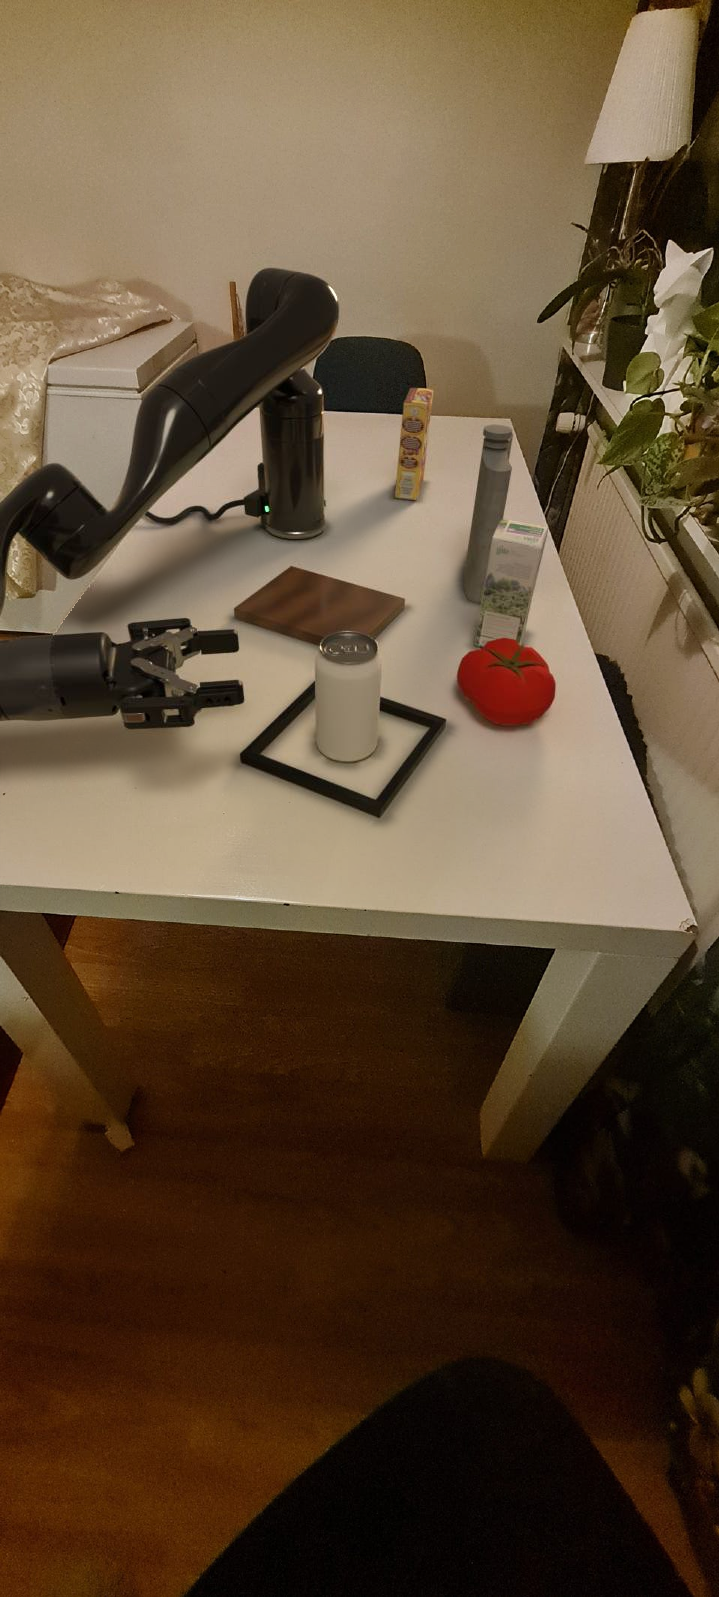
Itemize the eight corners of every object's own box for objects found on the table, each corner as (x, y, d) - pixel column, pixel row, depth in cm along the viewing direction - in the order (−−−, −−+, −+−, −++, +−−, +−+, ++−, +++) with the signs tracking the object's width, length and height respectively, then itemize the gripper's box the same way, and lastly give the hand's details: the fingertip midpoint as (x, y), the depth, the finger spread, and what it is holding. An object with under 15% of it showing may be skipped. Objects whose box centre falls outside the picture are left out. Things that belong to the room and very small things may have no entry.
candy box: (418, 501, 122) (427, 403, 111) (394, 498, 123) (400, 401, 112) (425, 482, 128) (434, 388, 118) (401, 480, 129) (408, 386, 118)
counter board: (234, 618, 92) (233, 608, 91) (291, 575, 101) (291, 565, 100) (355, 657, 87) (355, 647, 86) (404, 608, 96) (405, 598, 95)
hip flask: (488, 604, 97) (515, 450, 83) (459, 600, 98) (481, 447, 84) (492, 553, 109) (516, 410, 95) (465, 550, 109) (486, 407, 95)
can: (314, 725, 77) (313, 628, 68) (373, 724, 77) (379, 627, 69) (317, 765, 72) (315, 666, 64) (380, 763, 73) (386, 665, 64)
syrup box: (525, 633, 92) (550, 523, 82) (517, 657, 88) (542, 544, 78) (482, 624, 93) (501, 515, 83) (472, 647, 89) (491, 535, 79)
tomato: (489, 744, 76) (500, 694, 71) (441, 687, 83) (448, 639, 78) (565, 723, 79) (580, 674, 74) (512, 671, 86) (522, 623, 81)
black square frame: (240, 762, 72) (239, 753, 71) (319, 683, 83) (319, 675, 82) (379, 818, 67) (380, 809, 66) (445, 727, 77) (446, 718, 77)
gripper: (78, 668, 71) (240, 657, 74) (60, 760, 61) (248, 744, 64) (58, 600, 66) (234, 591, 68) (35, 689, 56) (241, 674, 58)
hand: (240, 665), depth 66 cm, fingers open, 8 cm apart
